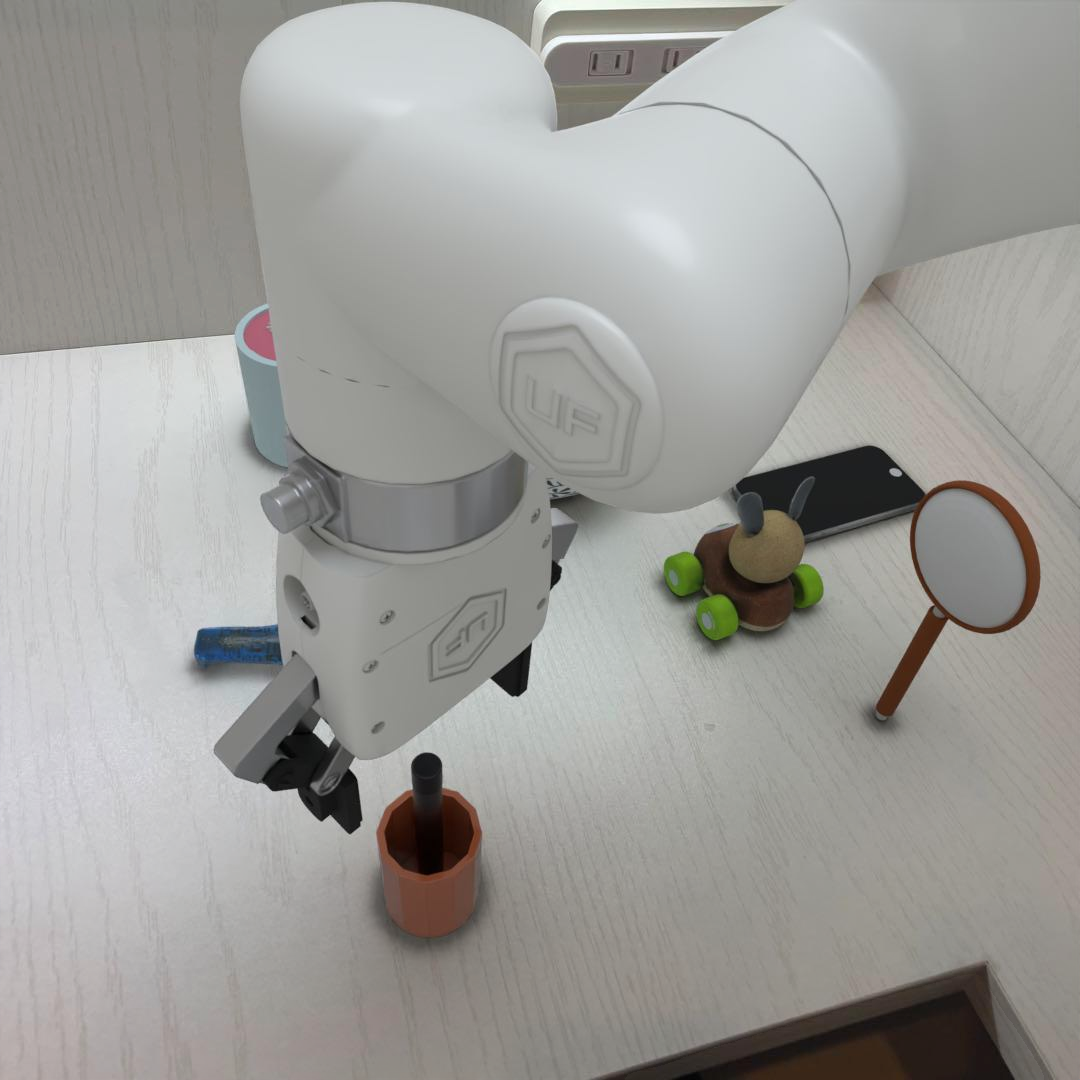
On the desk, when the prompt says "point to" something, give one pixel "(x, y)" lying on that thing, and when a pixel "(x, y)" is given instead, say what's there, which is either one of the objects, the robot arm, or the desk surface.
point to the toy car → (749, 569)
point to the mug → (262, 383)
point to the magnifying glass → (966, 571)
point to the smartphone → (838, 490)
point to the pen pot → (438, 896)
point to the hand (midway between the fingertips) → (420, 738)
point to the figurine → (238, 645)
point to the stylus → (428, 812)
